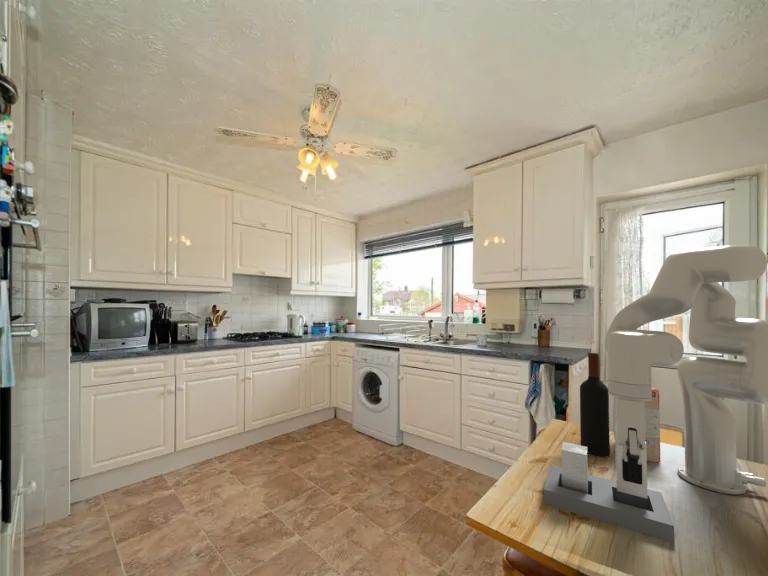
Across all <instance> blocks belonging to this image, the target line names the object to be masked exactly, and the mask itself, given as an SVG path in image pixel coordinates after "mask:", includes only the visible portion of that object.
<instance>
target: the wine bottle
mask: <svg viewBox="0 0 768 576" xmlns="http://www.w3.org/2000/svg"><path fill="white" fill-rule="evenodd" d="M587 359H588V360H587V361H588V363H587V364H588V375H587V376H588V377H587V379H586V380H584V381H582V383H581V384H580V385H579V410H580V411H579V412H580V413H579V414H580V415H579V417H580V418H579V421H580V423H579V424H580V428H579V429H580V433H579V434H580V445H581V446H585V447H587V453H588V454H587V455H589V454H590V455H589V456H593V455H594V456H593V457H597V456H599V458H607V457H606V456H608V457H610V456H609V455H611V454H610V453H611V448H610V447H611V446H610V444H611V443H610V399H609V398H610V395H609V394H608V385H606V384H605V383H603V381H601V379H600V362H599V361H600V354H599V352H588V354H587Z"/></svg>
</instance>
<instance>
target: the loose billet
mask: <svg viewBox="0 0 768 576" xmlns="http://www.w3.org/2000/svg"><path fill="white" fill-rule="evenodd" d="M640 445H642V444H640ZM623 446H624V445H620V446H618V445H617V444H616V443H615V442H614V453H615V454H614V456H615V458H614V459H615V461H614V464H615V481H616V486H617V491H619V492H623V493H627V494H631V495H635V496H638V497H642V498H646V499H647V489H648V465H647V464H648V463H647V462H648V461H647V451H646V441H645V449H644V450H641V449H640V450H641V451H640V453H641V464H642V484H641V485H640V484H636V483H632V482H628V481H624V480H623V464H622V460H624V447H623ZM626 446H629V443H626ZM637 448H638V444H637ZM628 452H629V449H627V453H628Z"/></svg>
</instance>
